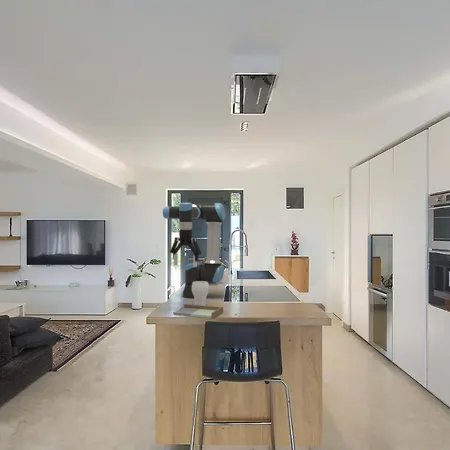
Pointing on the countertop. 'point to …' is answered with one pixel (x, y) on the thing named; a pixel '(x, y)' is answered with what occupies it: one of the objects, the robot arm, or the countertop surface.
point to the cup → (200, 292)
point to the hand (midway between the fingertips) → (185, 266)
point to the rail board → (199, 311)
